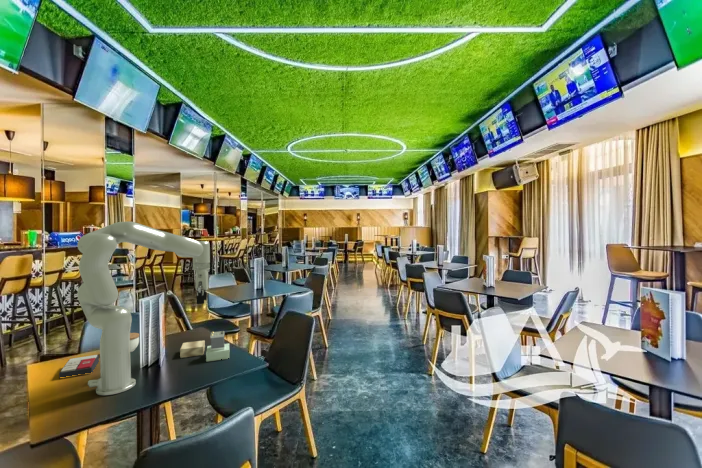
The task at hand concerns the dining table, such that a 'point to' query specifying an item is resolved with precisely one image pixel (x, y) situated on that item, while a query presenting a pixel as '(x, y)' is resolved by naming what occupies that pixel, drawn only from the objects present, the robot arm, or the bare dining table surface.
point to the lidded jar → (134, 341)
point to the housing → (217, 341)
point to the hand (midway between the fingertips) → (201, 301)
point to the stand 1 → (192, 349)
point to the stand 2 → (217, 353)
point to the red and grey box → (79, 366)
